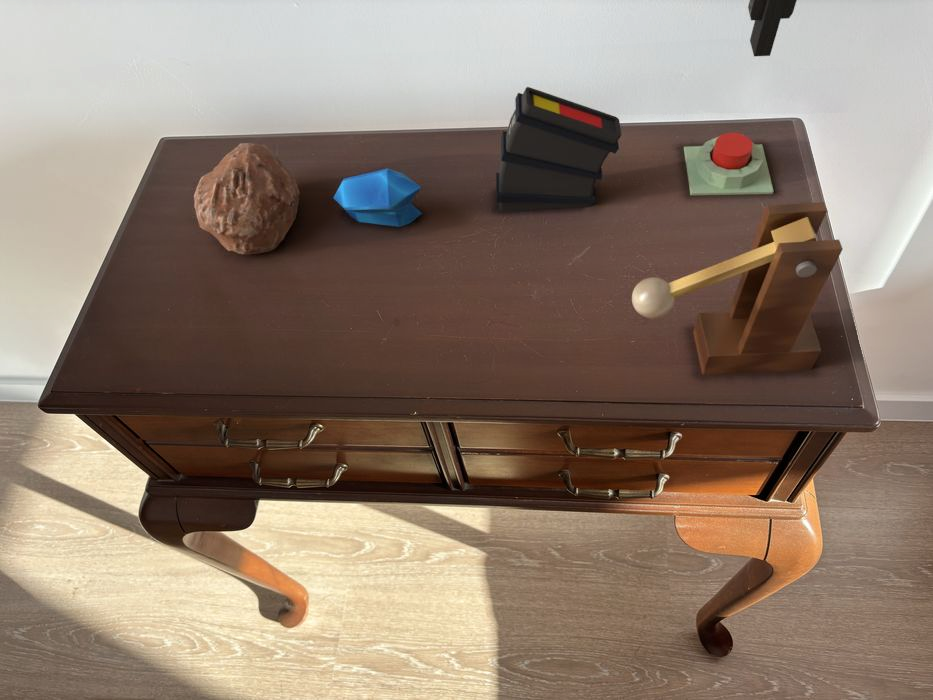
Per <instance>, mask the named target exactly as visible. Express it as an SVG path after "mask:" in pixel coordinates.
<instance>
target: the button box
mask: <svg viewBox="0 0 933 700" xmlns="http://www.w3.org/2000/svg"><path fill="white" fill-rule="evenodd" d="M718 137H719V136H716V137H714V138H712V139H709V140H707V141H706V142H704V143H703V145H695V146H694V145H693V146H692V145H691V146H690V145H689V146H683V153H684V161H685V167H686V174H687V180H688V186H689V187H688V188H689V194H690V196H727V195H728V196H731V195H733V196H734V195H773V194H774V191H775V190H774V187H773V183H772V179H771V175H770V170H769V167H768V162H767V158H766V155H765V150H764V146H763V144H761V143H760V144H755V143H754V142H753V141H752V144H753V148H752V151H751V154H750V158H749V161H748V163H747V165H746V166H745V167H743V168H741V169H737V170H727V169H724V168H721V167H718V166H717V165H716V164H715V163H714V162H713V160H712V155H713V150H714V146H715V142H716V140H717V138H718Z"/></svg>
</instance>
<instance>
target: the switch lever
mask: <svg viewBox="0 0 933 700" xmlns="http://www.w3.org/2000/svg"><path fill="white" fill-rule="evenodd" d="M771 234H772V237H773V240H774V242H772V243H770V244H767V245H765V246H762V247H759V248H757V249H754V250H752V251H751V250H749V251H747V252H744V253H742V254H739V255H737V256H734V257H732V258H729V259H727V260H724V261H721V262H719V263H716V264H714V265H711V266H709V267H705V268H704V269H701V270H698V271H695V272H693V273H691V274H688V275H686V276H683V277H681V278H678V279H675V280H673V281H670V282H668V281H667V280H665V279H664V278H661V277H658V276H657V277H656V276H650V277H646V278H644V279H642V280H641V281H639V282H638V283H637V284H636V285H635V287H634V288H633V290H632V294H631V303H632V306H633V308H634V310H635V311H636V313H638V314H639V315H641V316H642V317H644V318H646V319H650V320H651V319H652V320H653V319H660V318H662V317H664V316H666V315H667V314H668V313H669V312H670V311H671V310H672V309H673V306H674V304H675V299H678V298H679V297H682V296H685V295H688V294H690V293H693V292H695V291H698V290H701V289H703V288H706V287H709V286H711V285H715V284H717V283H719V282H722V281H724V280H727V279H729V278H733V277H735V276H737V275H740V274H742V273H743V272H746V271H748V270H751V269H754V268H756V267H759V266H761V265H764V264H767V263H769V262H772V259H773V257H774V254H775V252H776V249H777V247H778V244H779V243H789V242H805V241H819V239H818V236H817V234H815V232H814V230H813V227H812V225H811V223H810V220H809V218H808V217H805V218H803V219H800V220H798V221H795V222H793V223H790V224H788V225H785V226H783V227H780V228H778V229H775V230H773V231H771Z"/></svg>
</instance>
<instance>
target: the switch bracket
mask: <svg viewBox="0 0 933 700" xmlns="http://www.w3.org/2000/svg"><path fill="white" fill-rule="evenodd" d="M827 213H828V209H827V206H826V203H825V201H815V202H813V201H812V202H800V203H785V204H767V205H766V206H765V208H764V211H763V214H762V217H761V220H760V223H759V226H758V229H757V231H756V234H755V236H754V240H753V242H752V245H751V248H750V251H752V250H754V249H757V248H759V247H762V246H765V245H767V244H770V243H772V242H774V240H773V237H772V234H771V231H773V230H775V229H778V228H780V227H783V226H785V225H788V224H790V223H793V222H795V221H798V220H800V219H803V218H805V217H808V218H809V220H810V223H811V225H812V227H813V230H814V232H815V234H816V235H817V234H818V232H819V231H820V227H821V226H822V224H823V221H824V219H825V217H826V214H827ZM842 251H843V246H842V244H841V241H840V239H823V240H818V241H805V242H789V243H779V244H778V247H777V249H776V252H775V254H774V257H773V259H772V262H769V263H767V264H764V265H761V266H759V267H756V268H754V269H751V270H748V271H746V272H743V273H741V276H740V279H739V282H738V285H737V288H736V291H735V294H734V296H733V299H732V302H731V305H730V308H729V311H715V312H714V311H713V312H699V313H698V315H697V318H696V321H695V325H694V329H693V332H692V333H693V339H694V343H695V347H696V352H697V356H698V362H699V366H700V371H701V374H702V375H703V376H704V375H723V374H725V375H726V374H743V373H744V374H745V373H746V374H747V373H767V372H788V371H790V372H791V371H807V370H808V371H811V370H812V368H813V367H814V365H815V363H816V361H817V360H818V358H819V356H820V354H821V353H822V348H821V345H820V342H819V339H818V336H817V332H816V330H815V328H814V327H815V326H814V324H813V321H812V318H811V311H812V310H813V308H814V306H815V304H816V302H817V300H818V298H819V296H820V294H821V293H822V291H823V288H824V286H825V284H826V283H827V281H828V279H829V277H830V275H831V273H832V271H833V270H834V267H835V265H836V263H837V261H838V260H839V258H840V255H841V254H842Z"/></svg>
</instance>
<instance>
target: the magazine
mask: <svg viewBox="0 0 933 700" xmlns="http://www.w3.org/2000/svg"><path fill="white" fill-rule="evenodd" d="M514 100H515V102H514V103H515V109H514V111H513V113H512V115H511V117H510V120H509V124H508V126H507V129H506V130H507V131H505V130H504V131H502V132H501V136H500V158H499V169H498V170H499V172H496V173H495V193H496V194H495V198H496V199H495V200H496V201H495V202H496V203H499V204H498V205H499V211H500V212H512V211H513V212H514V211H529V210H530V211H531V210H548V209H564V208H582V207H584V208H585V207H592V206H593V204H596V203H597V193H596V183H597V180H600V181H601V180H602V178H603V170H602V169H603V168H602V167H603V164H604V162H605V160H606V159H607V157H608V156H609V154H610V153H612V154H616V153H617V152H618V150H619V149H620V145H619V140H620V138H621V136H622V129H621V123H620V119H619V117H617V116H615V115H612V114H609V113H606V112H603V111H600V110H598V109H594V108H592V107H588V106H585V105H583V104H580V103H577V102H574V101H571V100H569V99H565V98H563V97H558V96H556V95H553V94H551V93H548V92H544V91H542V90H539V89H535V88H533V87H530V86H526V88H525V89H524V91H523V93H521V92H517V94H516V96H515V99H514Z"/></svg>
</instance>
